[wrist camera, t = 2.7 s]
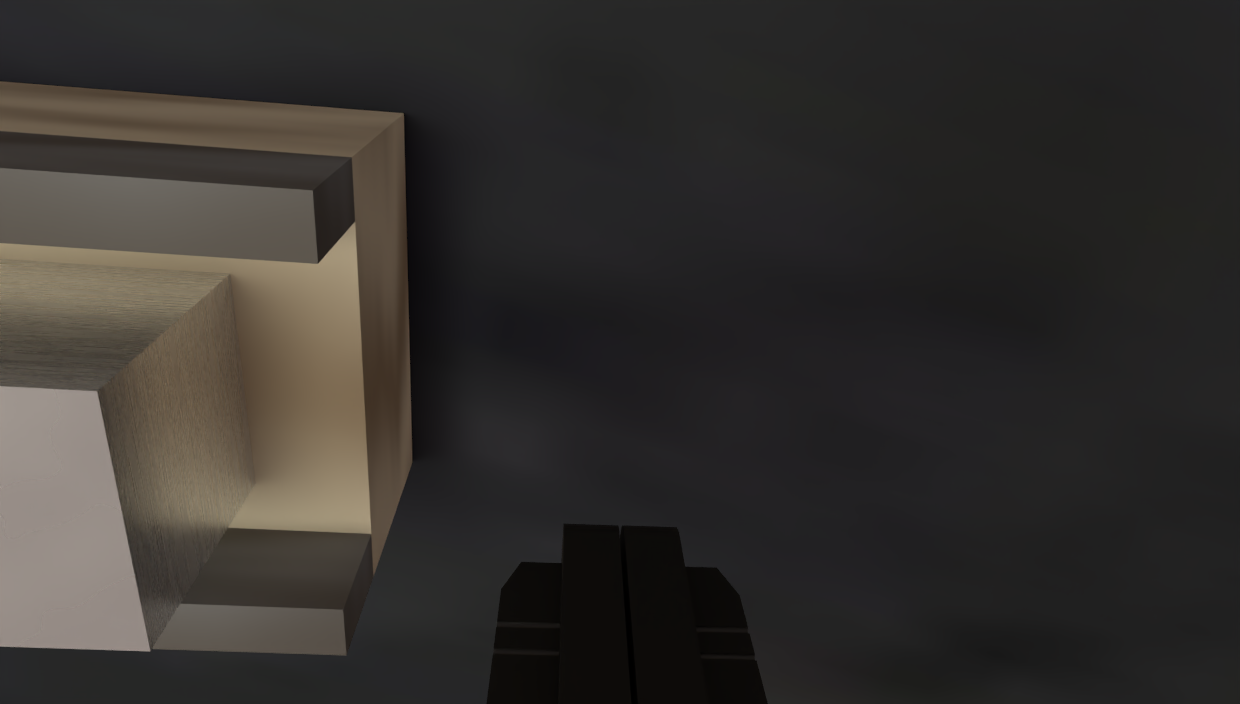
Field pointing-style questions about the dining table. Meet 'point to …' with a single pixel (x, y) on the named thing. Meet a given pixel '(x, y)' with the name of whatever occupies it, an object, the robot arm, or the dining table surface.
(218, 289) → the light grey cube
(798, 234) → the dining table surface
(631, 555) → the robot arm
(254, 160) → the slot board
